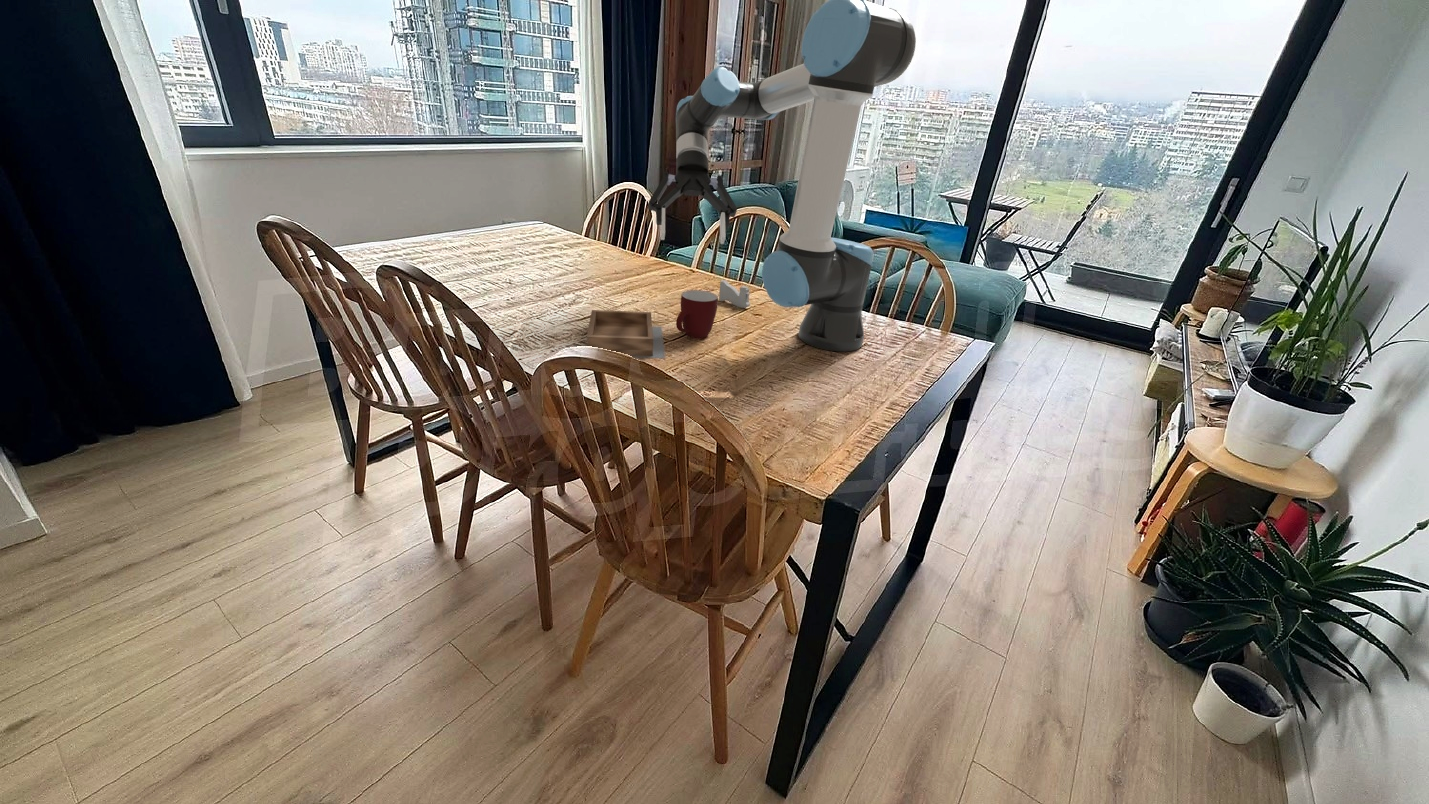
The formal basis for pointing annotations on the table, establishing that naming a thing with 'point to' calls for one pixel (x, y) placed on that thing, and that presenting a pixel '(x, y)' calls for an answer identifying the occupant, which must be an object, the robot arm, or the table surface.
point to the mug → (697, 313)
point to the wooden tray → (621, 332)
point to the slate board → (655, 344)
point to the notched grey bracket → (734, 294)
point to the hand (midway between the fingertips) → (693, 238)
